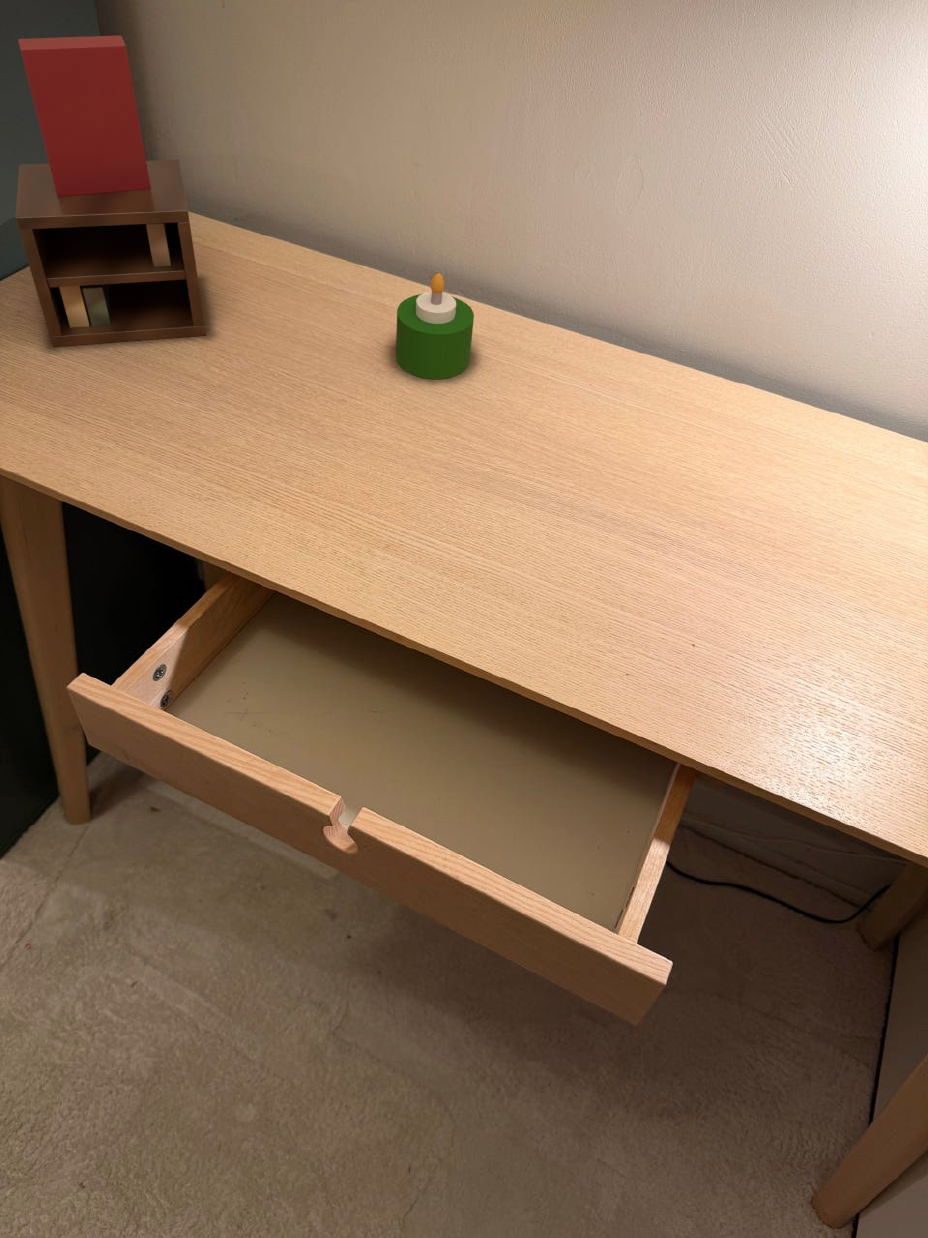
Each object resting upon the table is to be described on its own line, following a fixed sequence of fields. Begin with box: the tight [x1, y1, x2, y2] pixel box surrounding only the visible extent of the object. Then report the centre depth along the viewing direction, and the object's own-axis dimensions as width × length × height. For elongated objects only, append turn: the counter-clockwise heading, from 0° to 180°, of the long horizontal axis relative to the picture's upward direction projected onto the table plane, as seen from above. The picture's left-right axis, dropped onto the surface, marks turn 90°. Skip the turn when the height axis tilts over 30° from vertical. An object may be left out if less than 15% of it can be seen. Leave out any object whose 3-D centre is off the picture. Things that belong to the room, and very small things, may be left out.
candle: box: [395, 272, 475, 380], centre depth 98 cm, size 8×8×10 cm
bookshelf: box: [15, 159, 207, 348], centre depth 98 cm, size 16×12×14 cm
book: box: [18, 35, 151, 197], centre depth 88 cm, size 9×3×13 cm, turn 112°
